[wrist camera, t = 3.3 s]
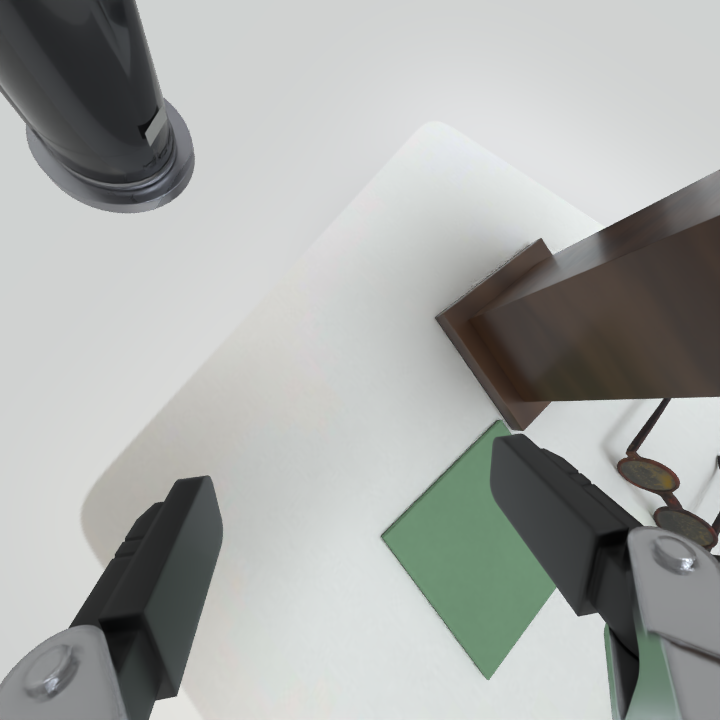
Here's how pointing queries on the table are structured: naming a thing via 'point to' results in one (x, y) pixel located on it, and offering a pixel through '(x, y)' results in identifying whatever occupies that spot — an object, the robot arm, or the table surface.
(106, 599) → the robot arm
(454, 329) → the stand
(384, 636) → the table surface
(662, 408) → the eyeglasses
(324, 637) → the table surface
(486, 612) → the mat
